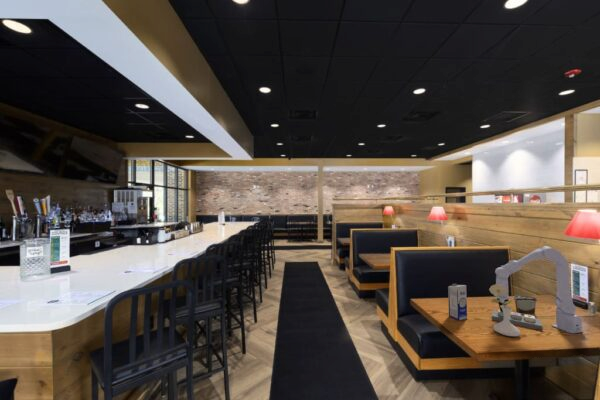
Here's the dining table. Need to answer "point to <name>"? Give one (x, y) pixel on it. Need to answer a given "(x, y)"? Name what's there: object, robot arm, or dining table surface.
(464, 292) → the milk carton
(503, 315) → the sage key
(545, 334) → the dining table surface
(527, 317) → the cream key
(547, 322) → the dining table surface
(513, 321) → the keypad
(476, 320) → the dining table surface
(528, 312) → the food container
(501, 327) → the flower in vase
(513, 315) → the grey key
